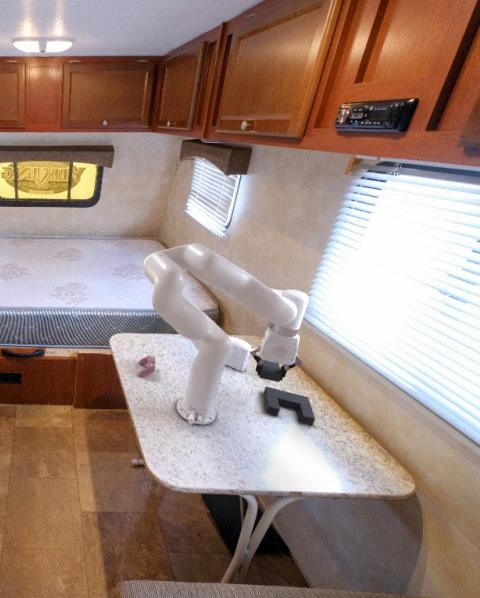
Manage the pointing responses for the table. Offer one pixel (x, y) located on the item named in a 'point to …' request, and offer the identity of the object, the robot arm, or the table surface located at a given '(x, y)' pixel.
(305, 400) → the base pad
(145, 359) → the video game controller
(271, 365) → the pad
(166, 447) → the table surface
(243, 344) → the photo printer
